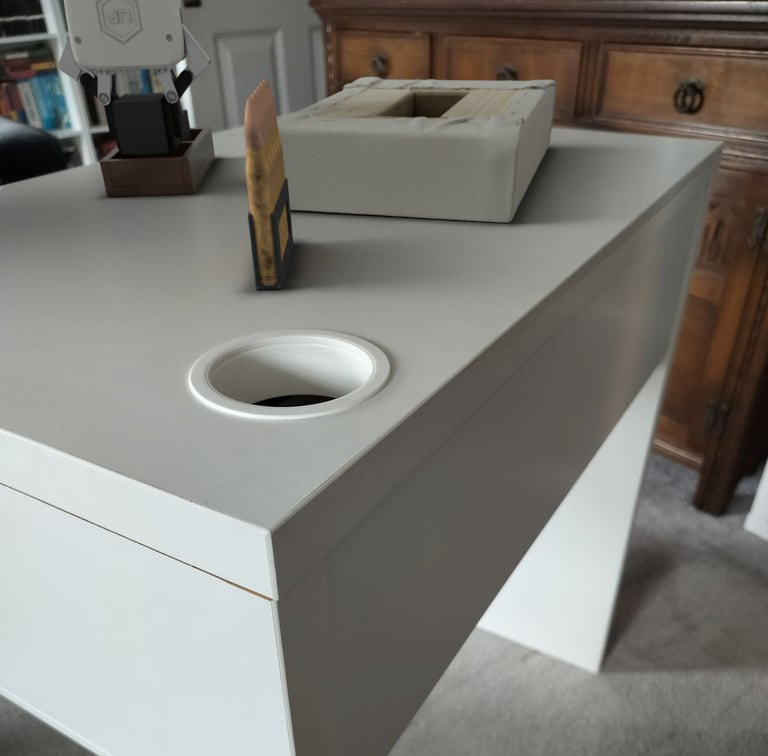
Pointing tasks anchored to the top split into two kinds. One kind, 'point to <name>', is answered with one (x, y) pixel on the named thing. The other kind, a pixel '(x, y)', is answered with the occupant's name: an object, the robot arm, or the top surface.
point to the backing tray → (160, 168)
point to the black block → (141, 123)
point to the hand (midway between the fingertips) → (149, 144)
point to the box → (419, 148)
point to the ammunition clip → (267, 191)
